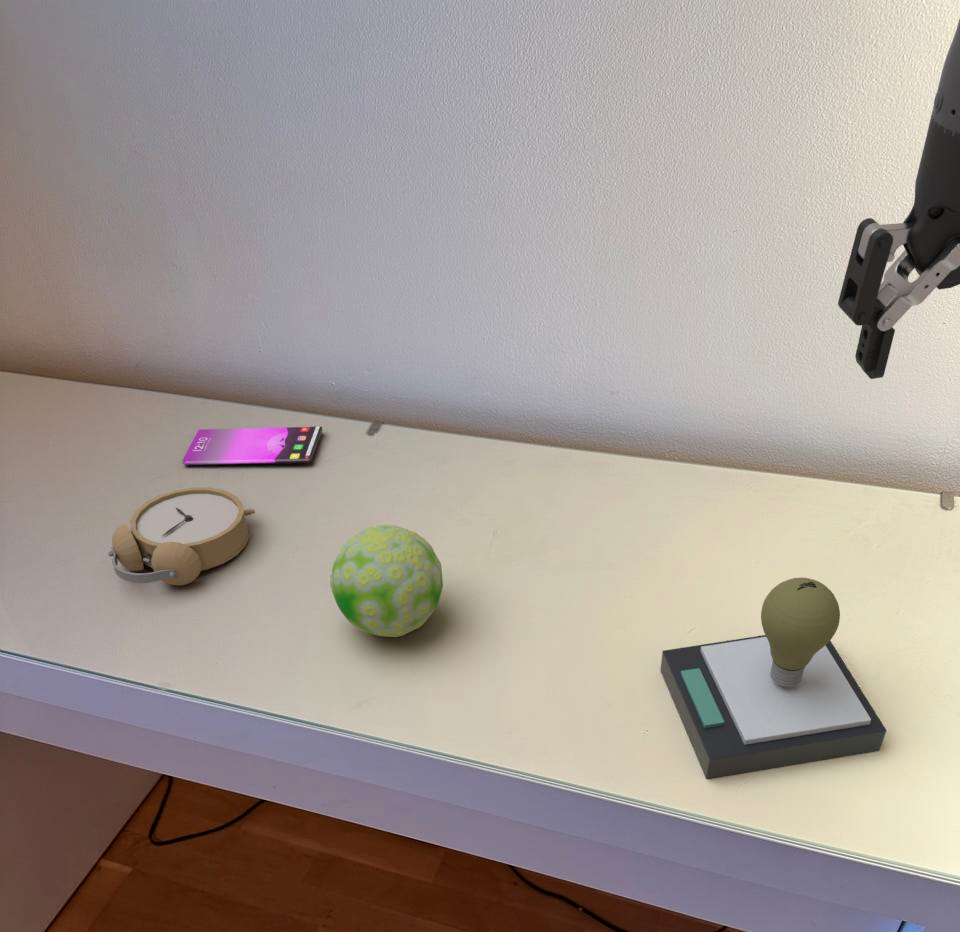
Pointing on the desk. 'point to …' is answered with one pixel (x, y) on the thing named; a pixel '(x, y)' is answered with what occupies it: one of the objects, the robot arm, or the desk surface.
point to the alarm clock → (181, 535)
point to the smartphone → (253, 446)
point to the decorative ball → (386, 580)
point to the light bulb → (797, 626)
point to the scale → (766, 707)
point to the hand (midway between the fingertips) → (929, 364)
